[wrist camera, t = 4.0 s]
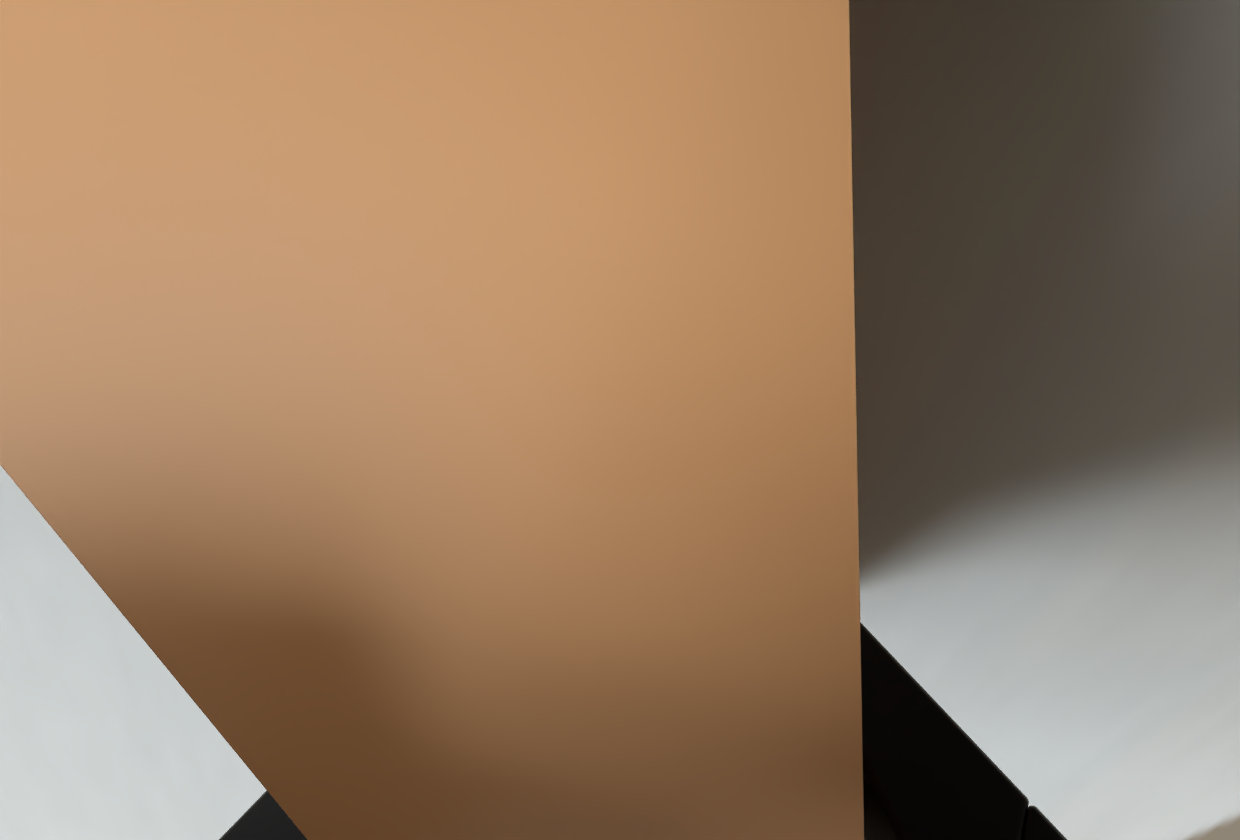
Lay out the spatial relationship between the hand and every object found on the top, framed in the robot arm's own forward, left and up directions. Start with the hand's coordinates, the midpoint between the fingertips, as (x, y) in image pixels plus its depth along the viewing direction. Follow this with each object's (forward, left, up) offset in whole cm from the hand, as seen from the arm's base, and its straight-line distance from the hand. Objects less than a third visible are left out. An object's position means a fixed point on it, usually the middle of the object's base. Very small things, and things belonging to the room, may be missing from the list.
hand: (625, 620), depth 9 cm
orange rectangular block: (0, -4, -1) cm, 4 cm away
